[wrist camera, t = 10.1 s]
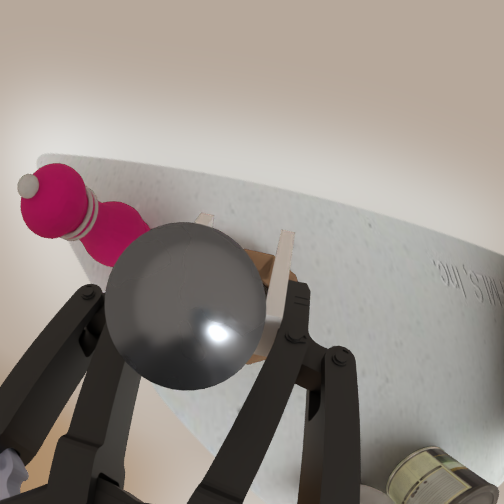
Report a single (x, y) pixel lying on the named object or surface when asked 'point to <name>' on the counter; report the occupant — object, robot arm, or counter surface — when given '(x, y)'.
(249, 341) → the metal cylinder peg
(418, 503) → the coffee can
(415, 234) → the counter surface
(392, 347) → the counter surface
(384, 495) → the donut
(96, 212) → the pepper mill
